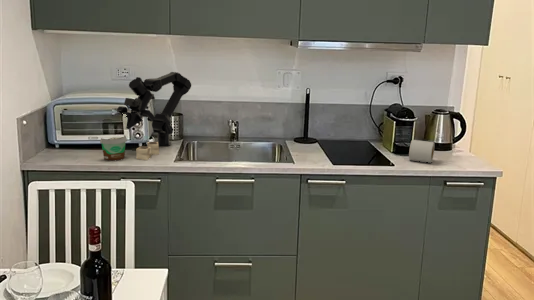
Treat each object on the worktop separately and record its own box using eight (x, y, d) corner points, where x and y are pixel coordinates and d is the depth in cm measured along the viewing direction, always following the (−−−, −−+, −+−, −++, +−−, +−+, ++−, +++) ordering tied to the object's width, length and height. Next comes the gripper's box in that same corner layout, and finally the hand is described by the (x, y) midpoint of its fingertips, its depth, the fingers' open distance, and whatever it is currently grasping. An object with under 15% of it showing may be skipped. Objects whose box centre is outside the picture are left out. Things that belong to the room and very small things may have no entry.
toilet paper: (432, 160, 253) (435, 140, 251) (429, 165, 244) (432, 144, 242) (411, 157, 257) (413, 137, 255) (408, 162, 248) (410, 141, 246)
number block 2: (147, 152, 251) (147, 141, 250) (158, 151, 252) (158, 141, 251) (148, 155, 246) (147, 144, 245) (158, 154, 247) (158, 143, 246)
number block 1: (141, 156, 243) (140, 145, 242) (151, 157, 242) (151, 146, 241) (136, 159, 238) (136, 148, 237) (147, 160, 237) (146, 149, 236)
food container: (106, 162, 231) (105, 140, 229) (100, 159, 236) (99, 138, 233) (132, 158, 239) (131, 137, 236) (126, 155, 243) (125, 134, 241)
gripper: (118, 89, 245) (102, 116, 238) (149, 93, 236) (133, 121, 230) (130, 103, 254) (115, 129, 247) (161, 107, 245) (146, 135, 239)
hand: (127, 128), depth 240 cm, fingers closed
